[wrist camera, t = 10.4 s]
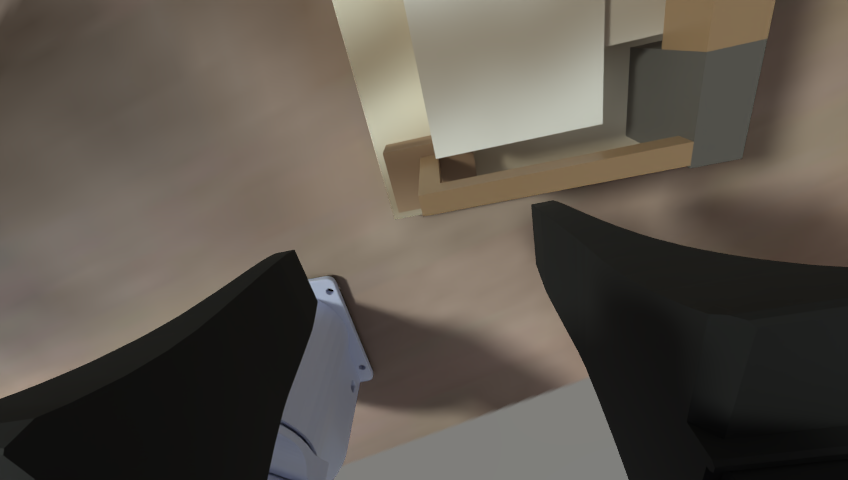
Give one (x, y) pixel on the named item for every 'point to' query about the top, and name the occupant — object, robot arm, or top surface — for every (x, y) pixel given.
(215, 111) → the top surface
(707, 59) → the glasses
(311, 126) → the top surface
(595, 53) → the stand
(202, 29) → the top surface
